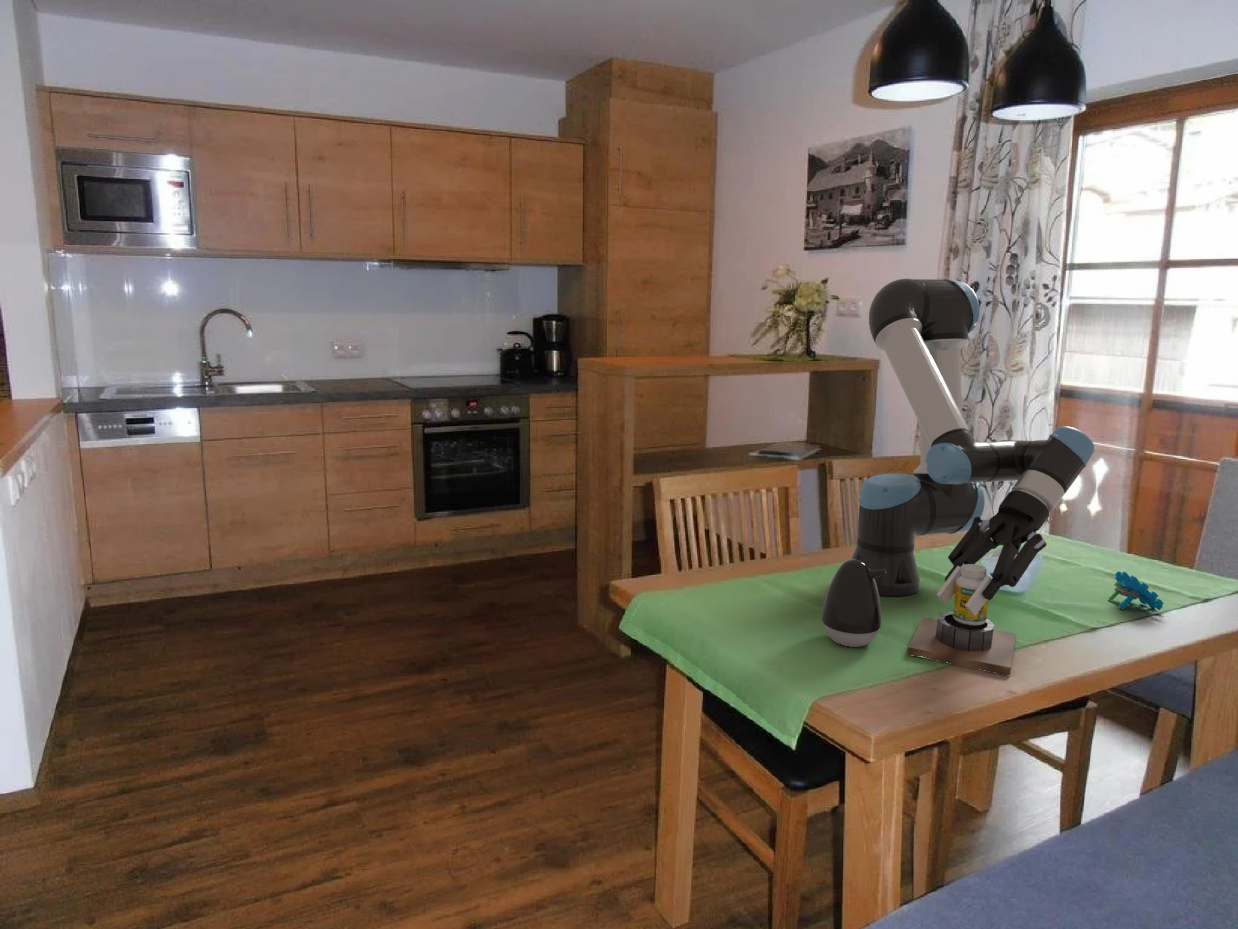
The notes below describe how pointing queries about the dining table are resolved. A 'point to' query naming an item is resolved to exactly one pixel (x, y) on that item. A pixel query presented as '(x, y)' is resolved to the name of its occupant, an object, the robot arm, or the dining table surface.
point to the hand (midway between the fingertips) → (955, 605)
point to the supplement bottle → (969, 594)
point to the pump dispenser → (853, 604)
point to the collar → (964, 633)
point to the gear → (1134, 591)
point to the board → (987, 660)
